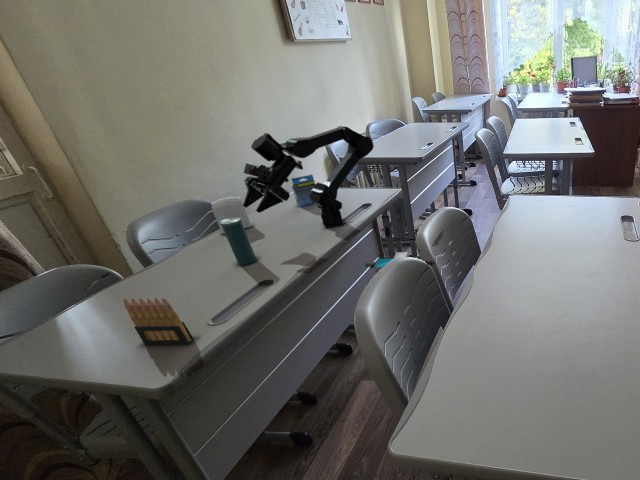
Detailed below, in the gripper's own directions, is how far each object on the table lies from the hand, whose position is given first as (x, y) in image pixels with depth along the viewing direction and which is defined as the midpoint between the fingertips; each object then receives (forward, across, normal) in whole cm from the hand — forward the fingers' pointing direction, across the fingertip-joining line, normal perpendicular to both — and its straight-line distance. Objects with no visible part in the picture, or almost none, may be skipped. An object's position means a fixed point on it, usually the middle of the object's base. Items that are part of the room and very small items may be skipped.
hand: (250, 209), depth 127 cm
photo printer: (+6, -28, +13) cm, 32 cm away
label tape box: (-19, -32, +32) cm, 49 cm away
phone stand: (-6, +47, +22) cm, 52 cm away
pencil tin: (+15, +4, +7) cm, 17 cm away
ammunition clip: (+39, +32, -10) cm, 51 cm away
